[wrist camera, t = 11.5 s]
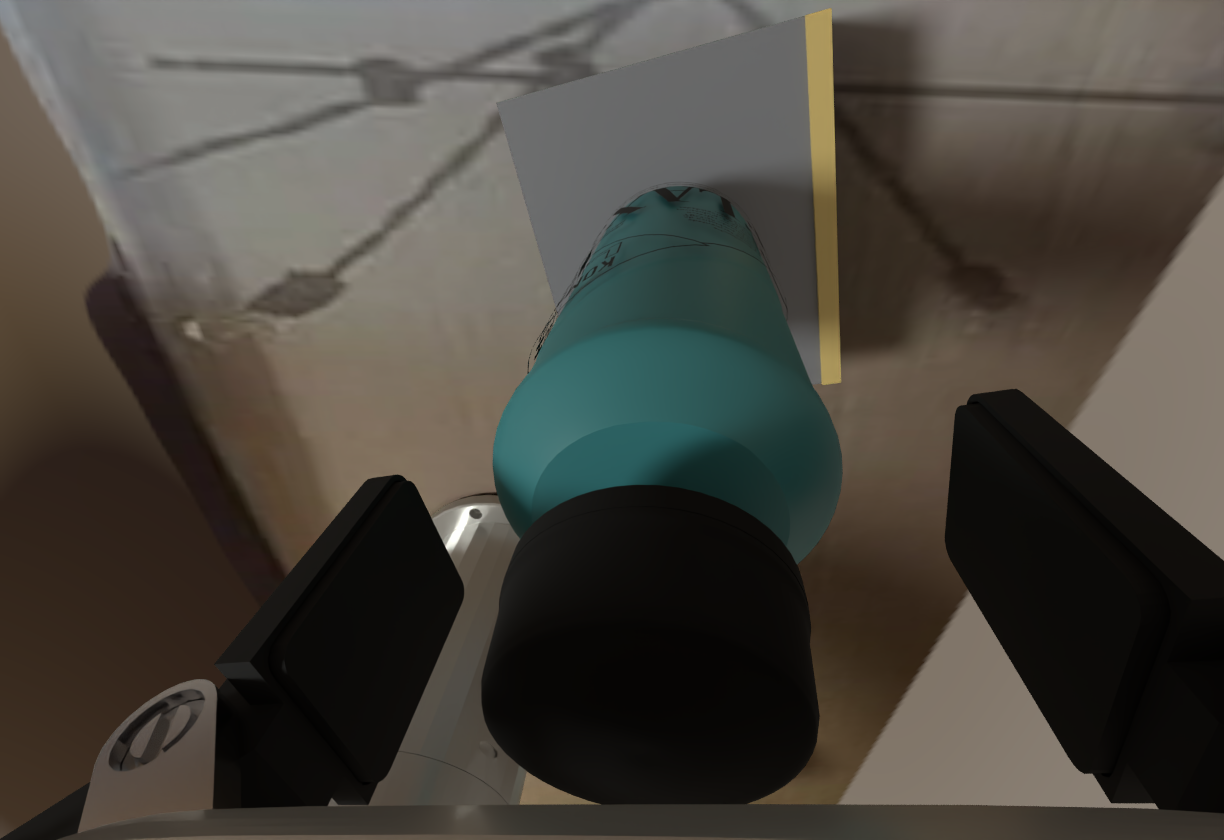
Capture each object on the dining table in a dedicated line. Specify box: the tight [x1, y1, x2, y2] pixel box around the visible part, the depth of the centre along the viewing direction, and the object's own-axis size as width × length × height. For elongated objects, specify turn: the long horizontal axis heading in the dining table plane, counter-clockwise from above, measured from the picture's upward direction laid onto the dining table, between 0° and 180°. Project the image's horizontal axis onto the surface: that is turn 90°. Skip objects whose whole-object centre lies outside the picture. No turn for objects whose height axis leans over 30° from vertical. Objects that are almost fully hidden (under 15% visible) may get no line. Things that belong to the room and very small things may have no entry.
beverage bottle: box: [481, 182, 843, 805], centre depth 14 cm, size 6×7×20 cm
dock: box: [497, 8, 841, 385], centre depth 24 cm, size 14×12×4 cm
